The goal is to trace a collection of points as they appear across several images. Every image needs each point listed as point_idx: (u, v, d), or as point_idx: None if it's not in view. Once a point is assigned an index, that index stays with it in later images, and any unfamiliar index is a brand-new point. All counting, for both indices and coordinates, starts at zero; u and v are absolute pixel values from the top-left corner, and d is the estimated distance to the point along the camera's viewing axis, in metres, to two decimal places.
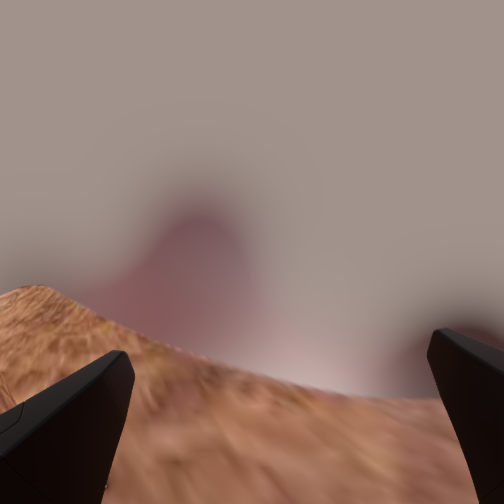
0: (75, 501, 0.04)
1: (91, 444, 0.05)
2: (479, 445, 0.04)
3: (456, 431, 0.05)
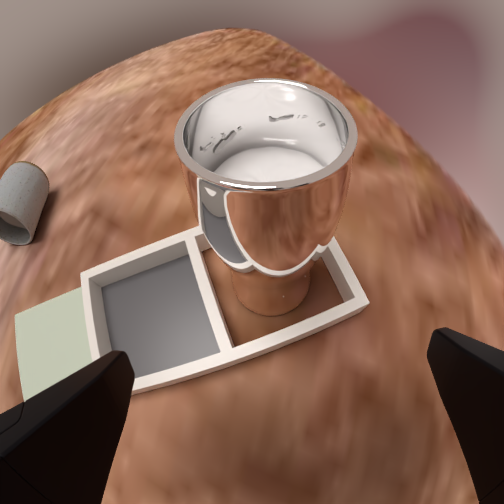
0: (75, 501, 0.04)
1: (91, 444, 0.05)
2: (479, 445, 0.04)
3: (456, 431, 0.05)
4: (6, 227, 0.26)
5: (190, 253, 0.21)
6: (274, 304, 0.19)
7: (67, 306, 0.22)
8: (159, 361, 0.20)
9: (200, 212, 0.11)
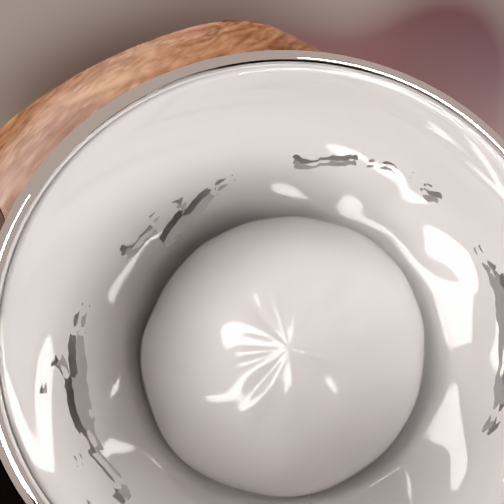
0: None
1: None
2: None
3: None
4: None
5: None
6: None
7: None
8: None
9: None
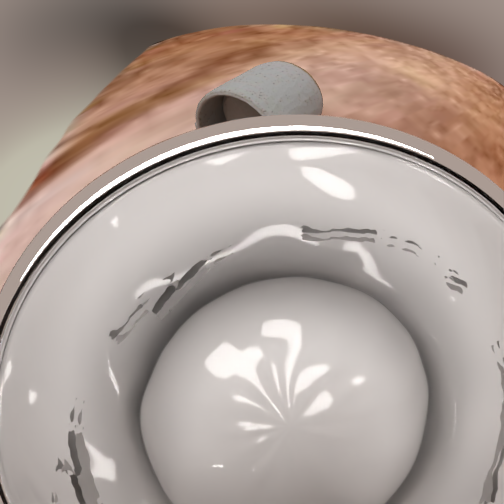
0: None
1: None
2: None
3: None
4: None
5: None
6: None
7: None
8: None
9: None
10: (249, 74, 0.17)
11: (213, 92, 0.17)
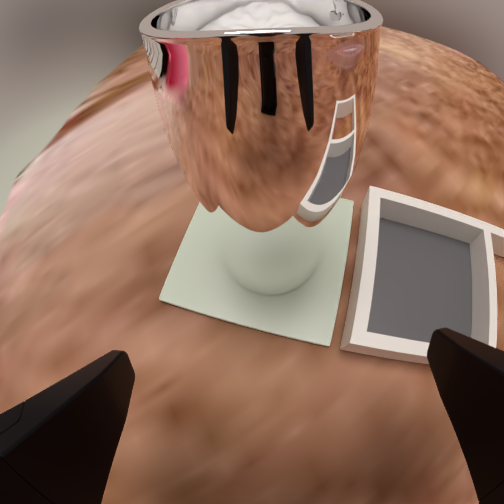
0: (75, 501, 0.04)
1: (91, 444, 0.05)
2: (479, 445, 0.04)
3: (456, 431, 0.05)
4: None
5: (486, 245, 0.15)
6: (275, 278, 0.16)
7: None
8: (414, 331, 0.16)
9: (167, 112, 0.07)
10: None
11: None
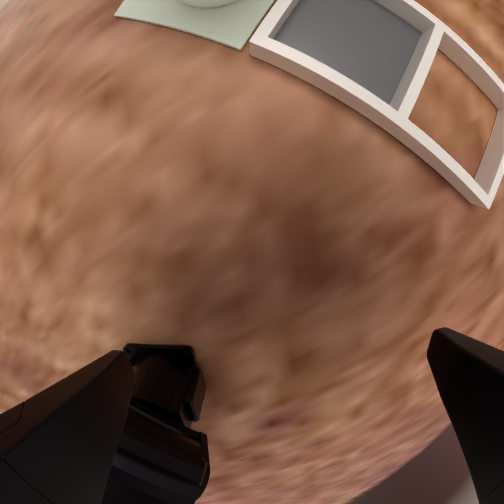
0: (75, 501, 0.04)
1: (91, 444, 0.05)
2: (479, 445, 0.04)
3: (456, 431, 0.05)
4: None
5: (433, 35, 0.12)
6: None
7: None
8: (327, 63, 0.15)
9: None
10: None
11: None
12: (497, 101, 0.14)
